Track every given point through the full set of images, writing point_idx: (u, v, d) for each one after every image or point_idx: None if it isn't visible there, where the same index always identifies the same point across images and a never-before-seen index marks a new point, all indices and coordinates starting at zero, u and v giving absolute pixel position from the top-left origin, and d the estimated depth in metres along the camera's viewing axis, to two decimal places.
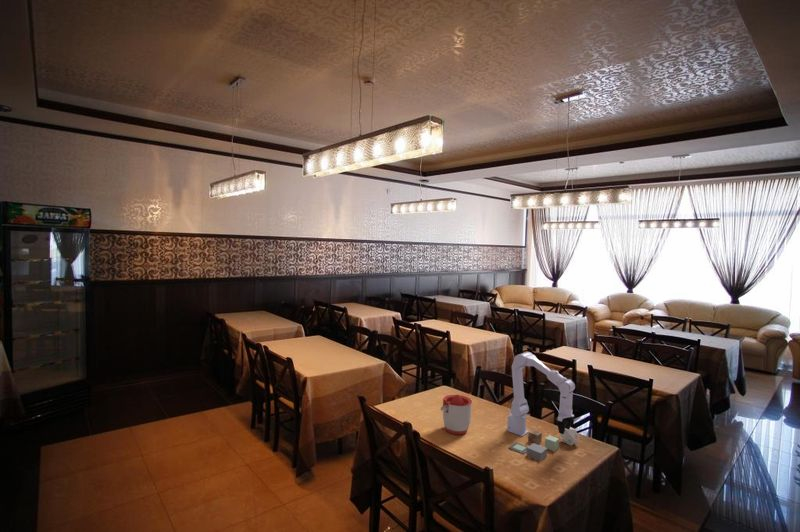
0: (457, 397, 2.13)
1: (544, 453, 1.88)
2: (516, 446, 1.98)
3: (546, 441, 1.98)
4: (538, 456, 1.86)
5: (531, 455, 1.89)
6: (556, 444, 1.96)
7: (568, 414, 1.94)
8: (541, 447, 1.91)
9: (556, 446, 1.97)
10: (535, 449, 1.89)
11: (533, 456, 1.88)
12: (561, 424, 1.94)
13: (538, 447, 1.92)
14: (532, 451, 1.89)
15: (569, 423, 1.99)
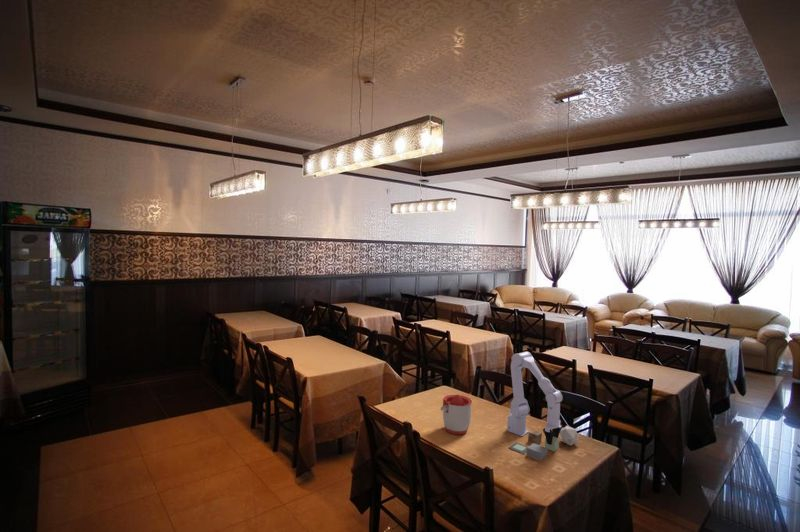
0: (457, 397, 2.13)
1: (544, 453, 1.88)
2: (516, 446, 1.98)
3: None
4: (538, 456, 1.86)
5: (531, 455, 1.89)
6: (556, 444, 1.96)
7: (555, 425, 1.95)
8: (541, 447, 1.91)
9: (556, 446, 1.97)
10: (535, 449, 1.89)
11: (533, 456, 1.88)
12: (549, 435, 1.95)
13: (538, 447, 1.92)
14: (532, 451, 1.89)
15: (557, 434, 2.01)
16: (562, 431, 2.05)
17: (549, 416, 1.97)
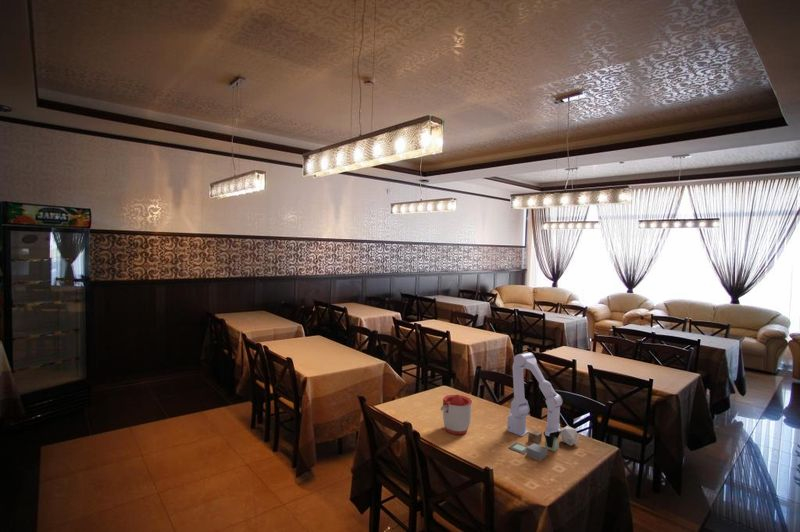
0: (457, 397, 2.13)
1: (544, 453, 1.88)
2: (516, 446, 1.98)
3: None
4: (538, 456, 1.86)
5: (531, 455, 1.89)
6: (556, 444, 1.96)
7: (555, 428, 1.96)
8: (541, 447, 1.91)
9: (556, 446, 1.97)
10: (535, 449, 1.89)
11: (533, 456, 1.88)
12: (549, 438, 1.96)
13: (538, 447, 1.92)
14: (532, 451, 1.89)
15: None
16: (562, 431, 2.05)
17: (549, 420, 1.97)
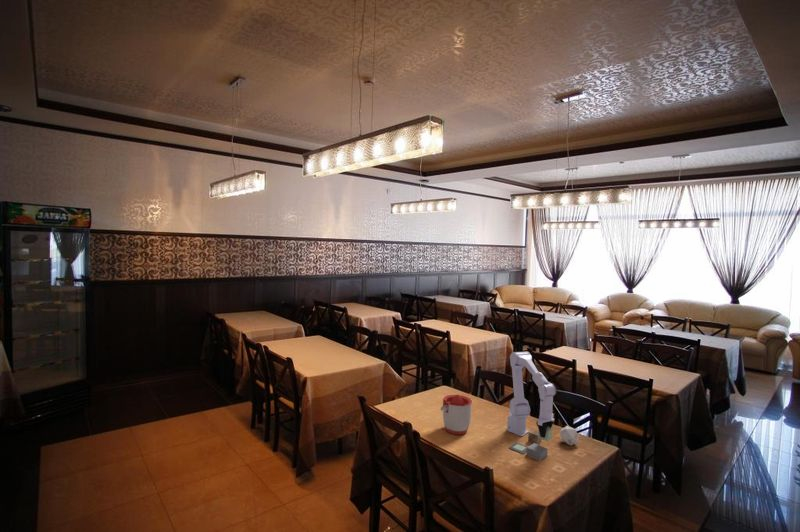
0: (457, 397, 2.13)
1: (544, 453, 1.88)
2: (516, 446, 1.98)
3: None
4: (538, 456, 1.86)
5: (531, 455, 1.89)
6: (549, 434, 1.92)
7: (548, 418, 1.91)
8: (541, 447, 1.91)
9: (550, 436, 1.92)
10: (535, 449, 1.89)
11: (533, 456, 1.88)
12: (542, 428, 1.92)
13: (538, 447, 1.92)
14: (532, 451, 1.89)
15: None
16: (562, 431, 2.05)
17: (542, 409, 1.92)
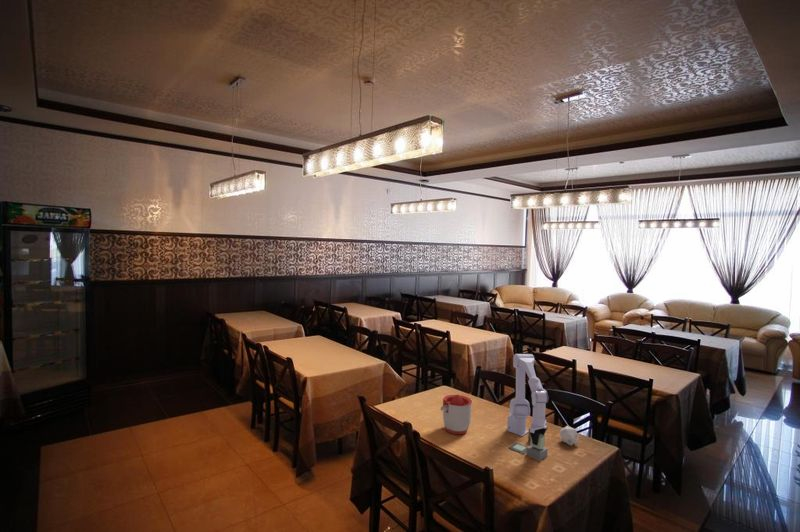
0: (457, 397, 2.13)
1: (544, 453, 1.88)
2: (516, 446, 1.98)
3: None
4: (538, 456, 1.86)
5: (531, 455, 1.89)
6: (542, 441, 1.88)
7: (541, 425, 1.87)
8: None
9: (542, 444, 1.89)
10: (534, 449, 1.89)
11: (533, 456, 1.88)
12: (534, 435, 1.88)
13: None
14: (532, 451, 1.89)
15: None
16: (562, 431, 2.05)
17: (534, 416, 1.89)
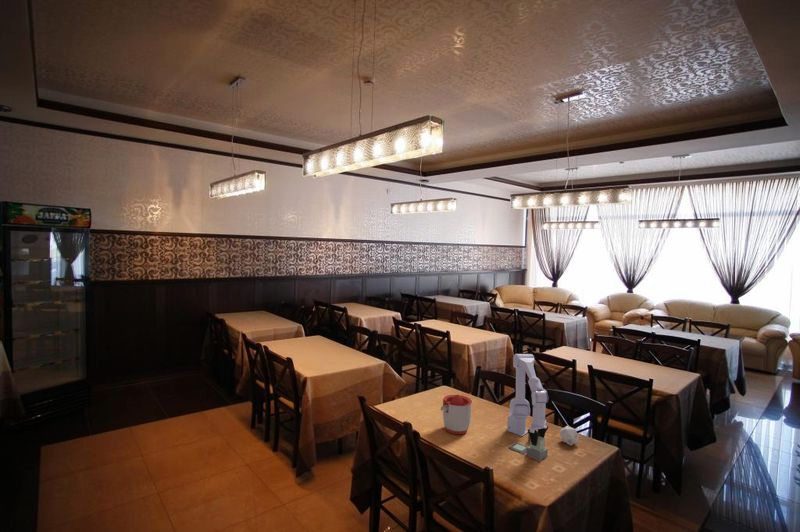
0: (457, 397, 2.13)
1: (544, 454, 1.88)
2: (516, 446, 1.98)
3: None
4: (537, 456, 1.86)
5: (530, 455, 1.89)
6: (541, 444, 1.88)
7: (541, 425, 1.87)
8: None
9: (542, 446, 1.89)
10: None
11: (533, 456, 1.88)
12: (533, 436, 1.87)
13: None
14: (532, 451, 1.89)
15: (542, 435, 1.92)
16: (562, 431, 2.05)
17: (534, 416, 1.89)
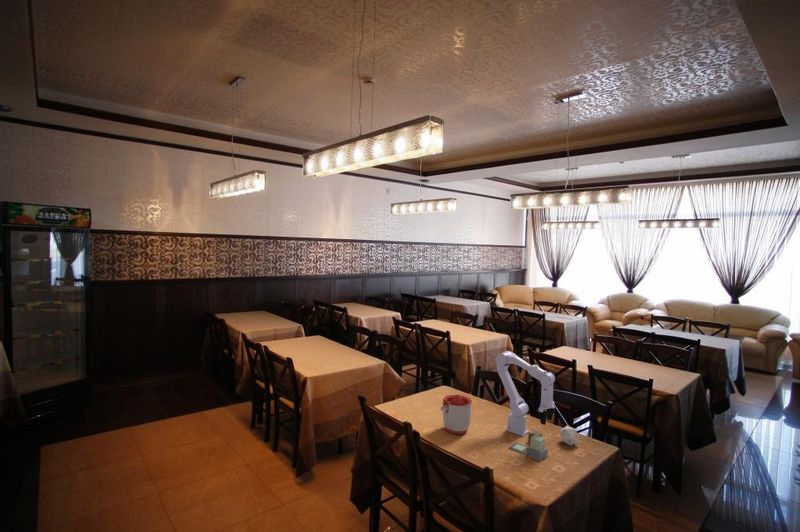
0: (457, 397, 2.13)
1: (543, 453, 1.88)
2: (516, 446, 1.98)
3: (531, 441, 1.90)
4: (537, 456, 1.87)
5: (530, 455, 1.89)
6: (541, 444, 1.88)
7: (549, 405, 2.02)
8: None
9: (542, 446, 1.89)
10: (534, 449, 1.89)
11: (533, 456, 1.88)
12: (542, 415, 2.02)
13: None
14: (532, 451, 1.89)
15: (551, 415, 2.07)
16: (562, 431, 2.05)
17: (543, 397, 2.03)
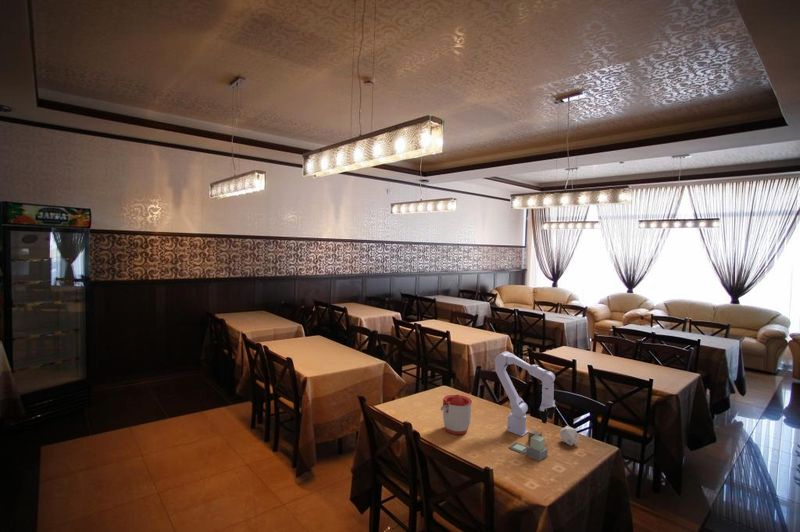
0: (457, 397, 2.13)
1: (543, 454, 1.88)
2: (516, 446, 1.98)
3: (531, 440, 1.90)
4: (537, 456, 1.87)
5: (530, 455, 1.89)
6: (541, 444, 1.88)
7: (550, 404, 2.03)
8: None
9: (542, 446, 1.89)
10: (534, 449, 1.89)
11: (533, 456, 1.88)
12: (543, 414, 2.03)
13: None
14: (532, 451, 1.89)
15: (551, 414, 2.08)
16: (562, 431, 2.05)
17: (544, 396, 2.05)
